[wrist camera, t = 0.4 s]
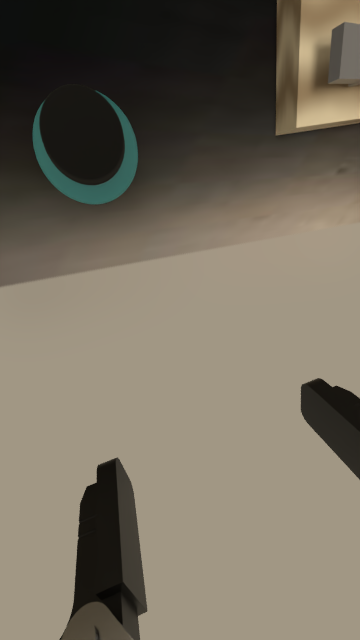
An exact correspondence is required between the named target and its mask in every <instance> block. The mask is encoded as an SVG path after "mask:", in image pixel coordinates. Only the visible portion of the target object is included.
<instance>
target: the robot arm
mask: <svg viewBox="0 0 360 640" xmlns="http://www.w3.org/2000/svg"><path fill="white" fill-rule="evenodd" d="M301 412H302V415H303V417H304V419H305V420H306V422H307V423H308V424H309V425H310V426H311V427H312V428H313V429H314V431H315V432H316V433H317V434H318V435H319V436H320V437H321V438H322V439H323V440H324V441H325V443H327V445H328V446H329V447H330V448H331V449H332V450H333V451H334V452H335V453H336V454H337V455H338V457H339V458H340V459H341V460H342V461H343V462H344V463H345V464H346V465H347V466H348V467H349V468H350V470H351V471H352V472H353V473H354V474H355V475H356V476H357V477H358V478H359V479H360V399H359V398H358V397H357V396H356V395H354V394H353V393H352V392H350V391H348V390H345V389H343V388H341V387H338V386H335V387H331V386H330V385H329V384H327V383H326V382H325V381H324V380H322V379H319V378H318V379H315V380H312V381H310V382H308V383H305V384H303V385H302V386H301ZM79 523H80V524H79V531H78V537H79V540H78V545H77V562H76V576H75V592H74V593H75V594H74V603H73V609H72V613H71V616H70V620H69V622H68V624H67V627H66V629H65V631H64V633H63V635H62V636H61V638H60V640H140V635H139V624H138V616H139V615H141V614H143V613H145V612H147V604H146V595H145V586H144V578H143V569H142V561H141V553H140V543H139V535H138V526H137V517H136V508H135V500H134V493H133V488H132V485H131V481H130V479H129V477H128V475H127V473H126V472H125V470H124V468H123V466H122V464H121V462H120V460H119V459H118V458H115V459H112V460H110V461H107V462H105V463H102V464H100V465H98V467H97V483H95V484H92V485H90V486H87V488H86V490H85V493H84V495H83V498H82V500H81V503H80V516H79Z"/></svg>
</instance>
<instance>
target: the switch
mask: <svg viewBox="0 0 360 640" xmlns="http://www.w3.org/2000/svg"><path fill="white" fill-rule="evenodd" d="M328 84H348V87H352V86H357V85H360V24H356V23H349V22H344V23H342V24H340V25H339V26H337V27H335V28H334V29H332V36H331V49H330V61H329V74H328Z"/></svg>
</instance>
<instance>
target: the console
mask: <svg viewBox="0 0 360 640" xmlns="http://www.w3.org/2000/svg"><path fill="white" fill-rule="evenodd" d="M344 22H349V23H356V24H360V0H277V63H276V135H283V134H290V133H296V132H303V131H310V130H316V129H323V128H330V127H336V126H343V125H350V124H356V123H360V85H357V86H352V87H348V84H328V74H329V61H330V49H331V36H332V29H334V28H335V27H337V26H339V25H340V24H342V23H344Z"/></svg>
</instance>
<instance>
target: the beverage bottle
mask: <svg viewBox="0 0 360 640" xmlns="http://www.w3.org/2000/svg"><path fill="white" fill-rule="evenodd" d="M33 146H34V151H35V154H36V158H37V160H38V163H39V165H40V167H41V169H42V171H43V172H44V174H45V175H46V177H47V178H48V180H49V181H50V182H51V183H52V184H53V185H54V186H55V187H56V188H57V189H58V190H59V191H61V192H62V193H63V194H65V195H66V196H68V197H69V198H71V199H74V200H76V201H79V202H82V203H86V204H100V205H101V204H103V203H107V202H110V201H112V200H114V199H116V198H118V197H119V196H120V195H122V194H123V193H124V192H125V191H126V190H127V188H128V187H129V186H130V184H131V182H132V180H133V178H134V176H135V173H136V169H137V164H138V148H137V142H136V138H135V135H134V132H133V129H132V127H131V125H130V122H129V121H128V119H127V117H126V116H125V115H124V113H123V112H122V111H121V109H120V108H119V107H118V106H117V105H116V104H115V103H114V102H113V101H112V100H110V99H109V98H108V97H106V96H105V95H103V94H101V93H99V92H98V91H95V90H93V89H91V88H89V87H86V86H83V85H78V84H69V85H64V86H61V87H59V88H57V89H55V90H54V91H52V92H51V93H50V94H49V95H48V97H47V98H46V99H45V100H44V102H43V103H42V104H41V106H40V108H39V109H38V111H37V114H36V116H35V120H34V124H33Z"/></svg>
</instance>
